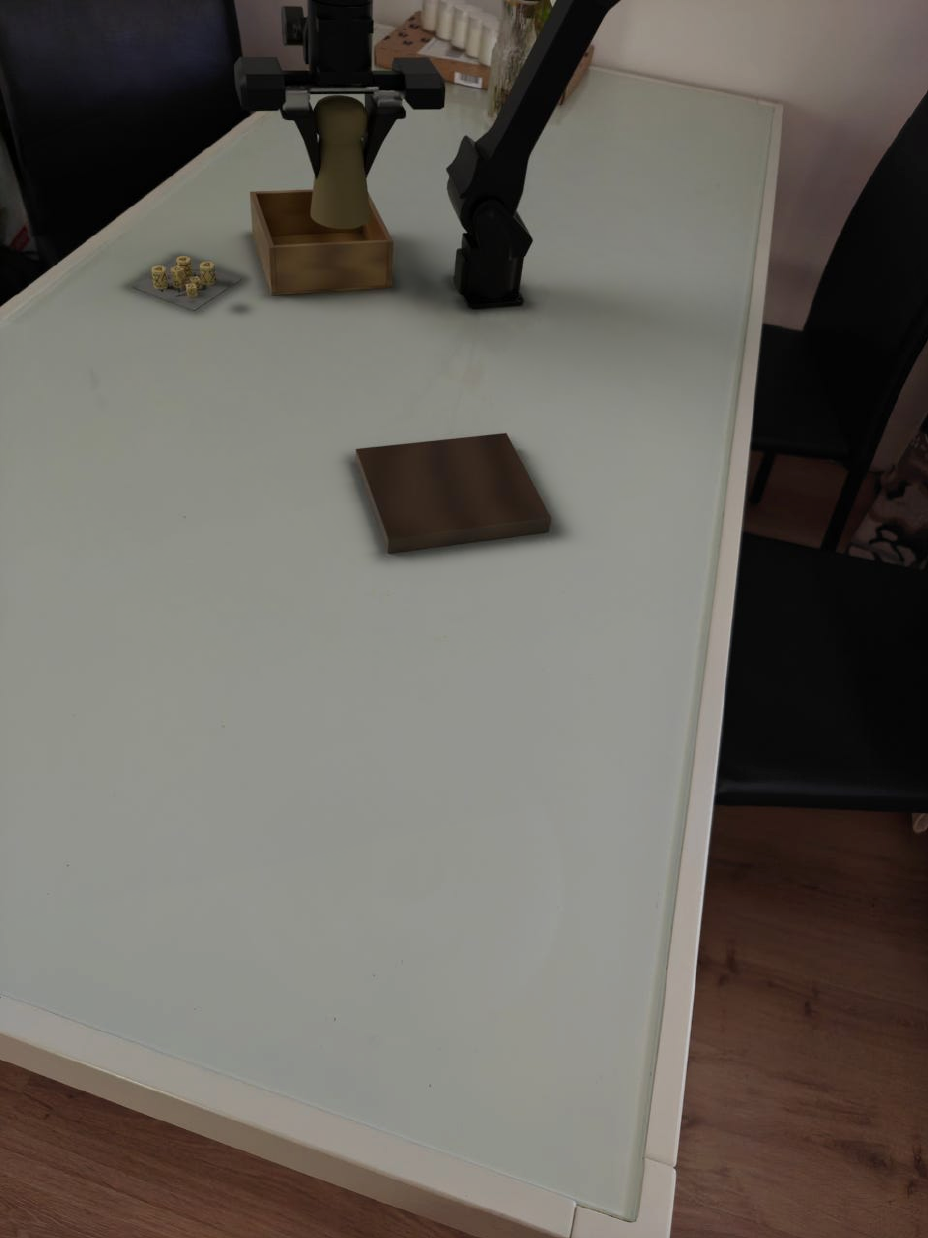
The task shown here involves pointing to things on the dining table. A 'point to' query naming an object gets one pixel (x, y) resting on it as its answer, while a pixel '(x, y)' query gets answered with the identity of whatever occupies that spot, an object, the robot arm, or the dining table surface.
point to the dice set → (186, 282)
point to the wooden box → (317, 247)
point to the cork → (340, 164)
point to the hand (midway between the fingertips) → (340, 176)
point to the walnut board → (450, 492)
